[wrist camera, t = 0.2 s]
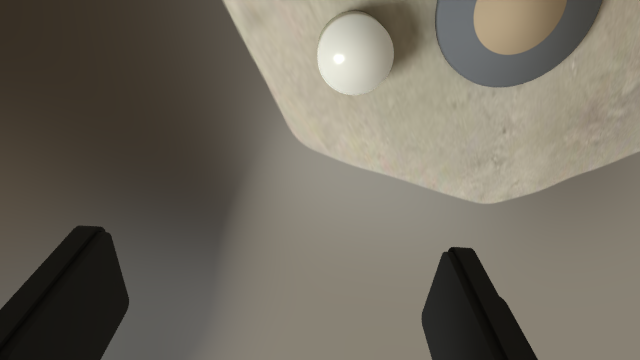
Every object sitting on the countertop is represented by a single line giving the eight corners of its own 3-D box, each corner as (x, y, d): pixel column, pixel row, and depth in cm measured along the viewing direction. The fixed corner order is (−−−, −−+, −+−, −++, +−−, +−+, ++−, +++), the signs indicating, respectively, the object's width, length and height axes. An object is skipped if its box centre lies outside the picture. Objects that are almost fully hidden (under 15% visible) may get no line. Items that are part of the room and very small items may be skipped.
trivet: (459, -99, 30) (463, -101, 29) (630, -83, 31) (640, -84, 30) (420, 79, 38) (422, 82, 37) (557, 89, 39) (563, 92, 38)
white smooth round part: (320, 7, 35) (320, 13, 31) (392, 13, 35) (400, 19, 32) (315, 80, 38) (315, 92, 35) (380, 85, 39) (386, 97, 35)
